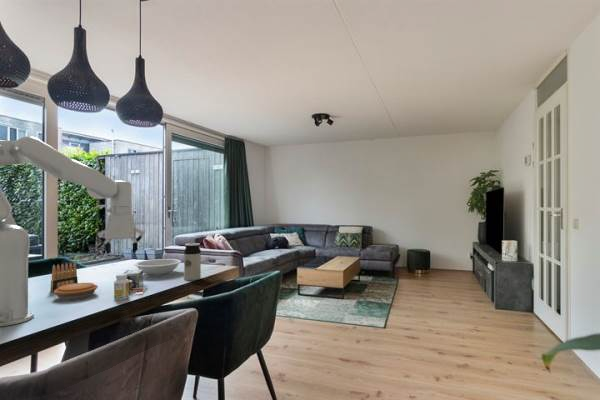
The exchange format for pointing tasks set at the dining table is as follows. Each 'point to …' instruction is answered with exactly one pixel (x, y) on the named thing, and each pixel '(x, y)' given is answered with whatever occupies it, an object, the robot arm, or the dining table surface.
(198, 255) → the travel mug
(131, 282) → the plunger
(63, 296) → the pie
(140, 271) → the gauge housing
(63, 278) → the ammunition clip
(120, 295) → the supplement bottle
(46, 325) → the dining table surface
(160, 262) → the soup bowl
